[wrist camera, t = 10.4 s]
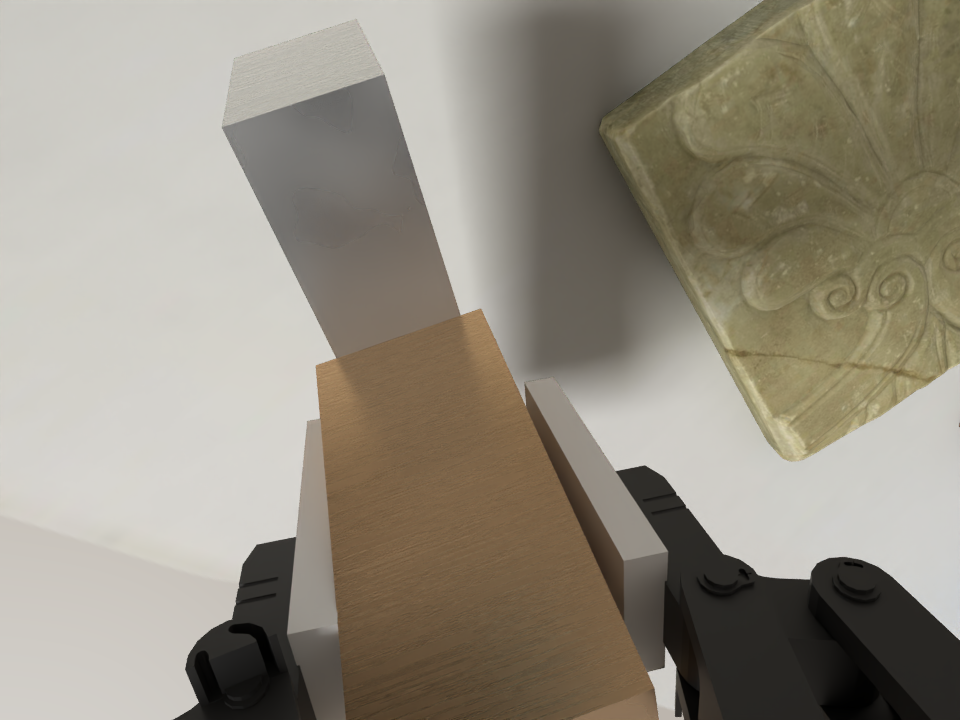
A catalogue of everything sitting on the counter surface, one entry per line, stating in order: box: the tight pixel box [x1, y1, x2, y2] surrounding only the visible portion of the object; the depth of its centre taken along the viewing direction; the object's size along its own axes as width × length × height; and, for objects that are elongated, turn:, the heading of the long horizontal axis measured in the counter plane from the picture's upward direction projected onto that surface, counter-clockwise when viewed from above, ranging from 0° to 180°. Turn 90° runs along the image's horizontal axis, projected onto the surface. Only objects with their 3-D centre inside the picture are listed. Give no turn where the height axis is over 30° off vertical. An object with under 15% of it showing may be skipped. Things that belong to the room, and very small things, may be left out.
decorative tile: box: [599, 0, 960, 462], centre depth 29 cm, size 19×20×4 cm
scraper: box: [222, 19, 659, 720], centre depth 15 cm, size 16×4×14 cm, turn 16°
